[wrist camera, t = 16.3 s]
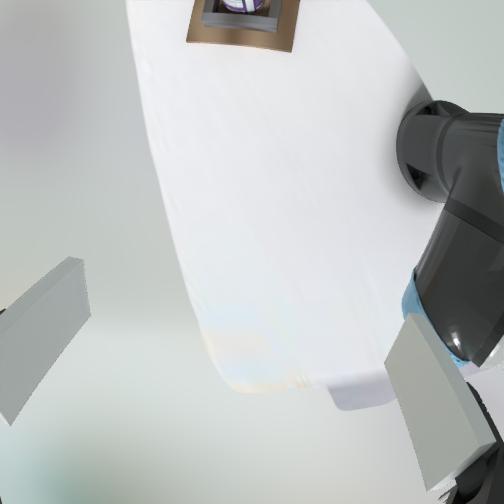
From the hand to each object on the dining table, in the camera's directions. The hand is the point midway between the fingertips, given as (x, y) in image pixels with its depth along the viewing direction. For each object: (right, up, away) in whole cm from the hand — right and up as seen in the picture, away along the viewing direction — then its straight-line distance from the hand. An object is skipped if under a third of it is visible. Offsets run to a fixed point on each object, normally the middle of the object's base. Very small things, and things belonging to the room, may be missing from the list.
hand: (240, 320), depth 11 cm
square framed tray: (0, +36, +19) cm, 41 cm away
